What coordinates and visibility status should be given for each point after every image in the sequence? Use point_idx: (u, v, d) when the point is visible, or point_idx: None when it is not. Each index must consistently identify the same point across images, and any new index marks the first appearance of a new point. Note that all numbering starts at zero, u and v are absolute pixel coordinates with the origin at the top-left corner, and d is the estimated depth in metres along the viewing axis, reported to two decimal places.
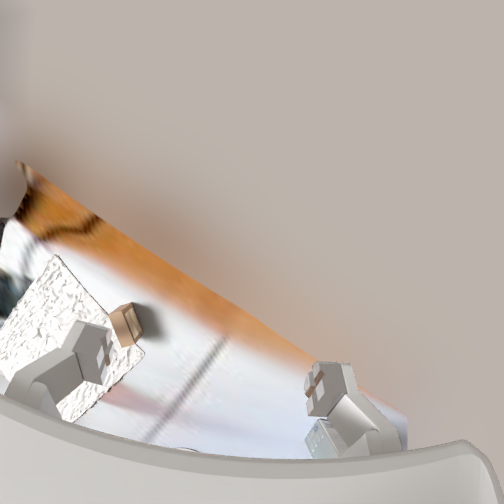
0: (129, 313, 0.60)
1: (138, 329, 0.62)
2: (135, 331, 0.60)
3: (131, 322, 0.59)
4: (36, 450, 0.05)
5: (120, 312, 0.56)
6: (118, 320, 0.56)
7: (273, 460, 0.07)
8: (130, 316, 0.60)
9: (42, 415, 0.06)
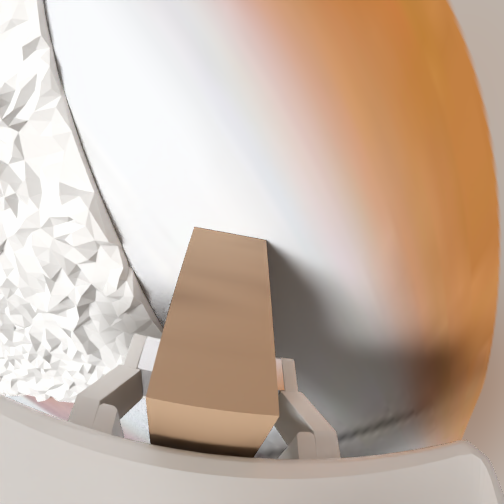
0: None
1: None
2: None
3: None
4: (36, 450, 0.05)
5: (263, 418, 0.07)
6: (212, 436, 0.07)
7: (273, 460, 0.07)
8: None
9: (42, 415, 0.06)
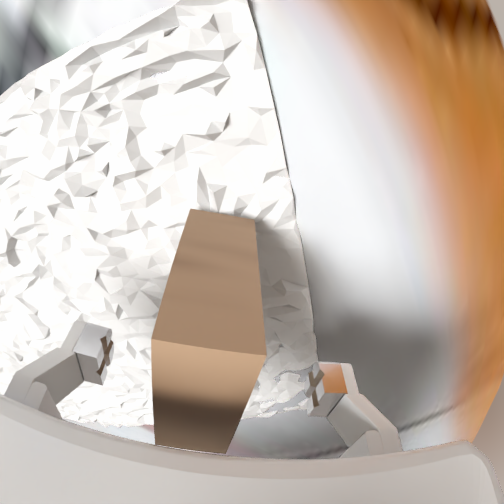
0: None
1: None
2: None
3: None
4: (36, 450, 0.05)
5: (253, 359, 0.08)
6: (208, 381, 0.09)
7: (273, 460, 0.07)
8: None
9: (42, 415, 0.06)
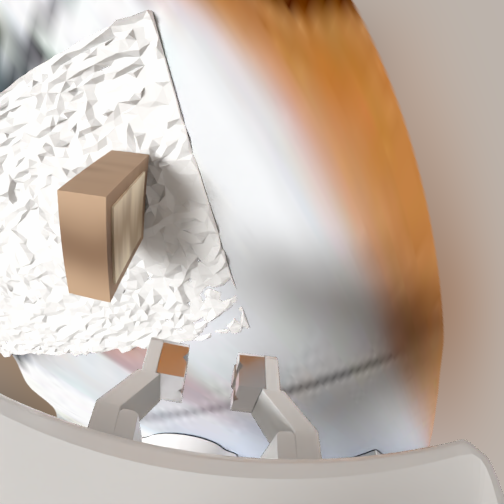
0: (128, 196, 0.18)
1: (134, 240, 0.22)
2: (125, 254, 0.20)
3: (124, 228, 0.18)
4: (36, 450, 0.05)
5: (101, 200, 0.15)
6: (84, 219, 0.15)
7: (273, 460, 0.07)
8: (127, 208, 0.18)
9: (42, 415, 0.06)
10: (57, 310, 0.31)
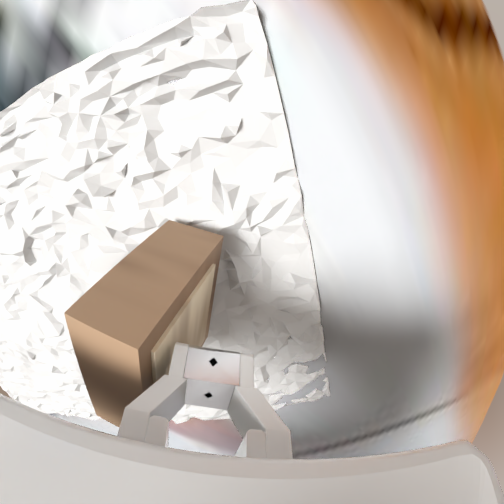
0: (185, 315, 0.12)
1: None
2: None
3: None
4: (36, 450, 0.05)
5: (130, 350, 0.09)
6: (107, 362, 0.10)
7: (273, 460, 0.07)
8: (182, 331, 0.13)
9: (42, 415, 0.06)
10: None
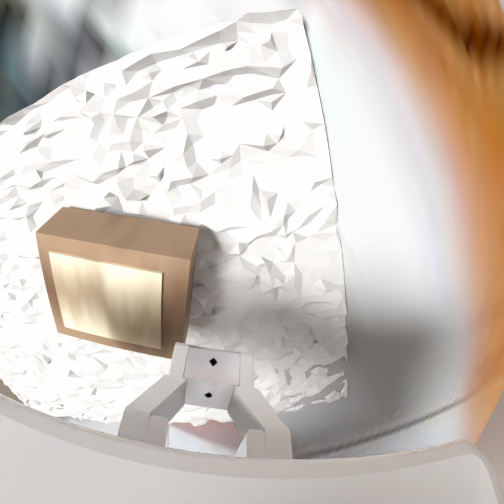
0: (94, 269, 0.14)
1: (130, 335, 0.16)
2: (92, 323, 0.16)
3: (84, 295, 0.15)
4: (36, 450, 0.05)
5: None
6: None
7: (273, 460, 0.07)
8: (91, 280, 0.14)
9: (42, 415, 0.06)
10: (113, 386, 0.25)
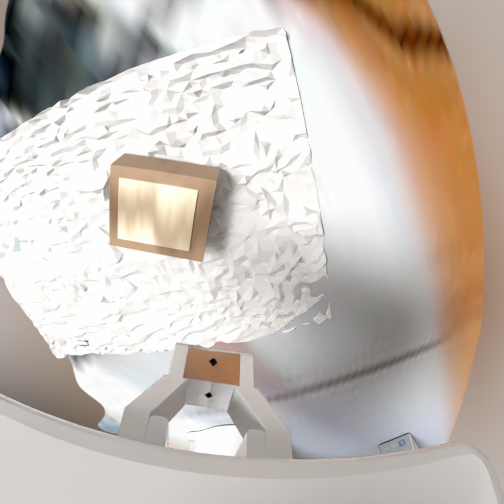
0: (151, 188, 0.22)
1: (168, 240, 0.24)
2: (141, 232, 0.24)
3: (140, 209, 0.23)
4: (36, 450, 0.05)
5: None
6: None
7: (273, 460, 0.07)
8: (148, 197, 0.22)
9: (42, 415, 0.06)
10: (139, 309, 0.34)
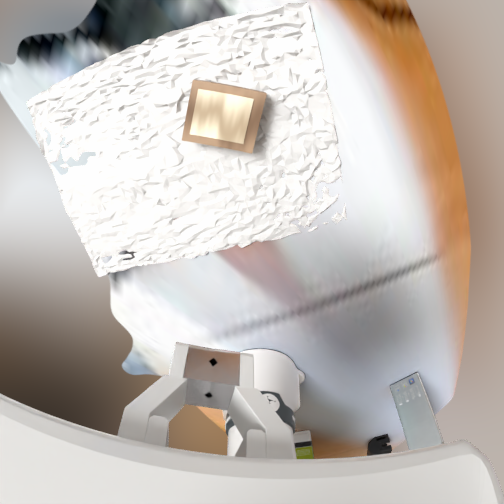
0: (221, 96, 0.31)
1: (228, 135, 0.33)
2: (209, 129, 0.33)
3: (210, 111, 0.32)
4: (36, 450, 0.05)
5: (193, 81, 0.30)
6: None
7: (273, 460, 0.07)
8: (218, 103, 0.31)
9: (42, 415, 0.06)
10: (189, 210, 0.42)
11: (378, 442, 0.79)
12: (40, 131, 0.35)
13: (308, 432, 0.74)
